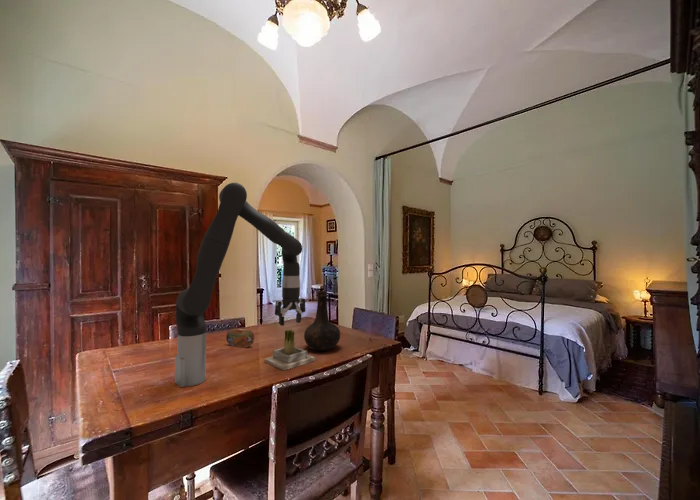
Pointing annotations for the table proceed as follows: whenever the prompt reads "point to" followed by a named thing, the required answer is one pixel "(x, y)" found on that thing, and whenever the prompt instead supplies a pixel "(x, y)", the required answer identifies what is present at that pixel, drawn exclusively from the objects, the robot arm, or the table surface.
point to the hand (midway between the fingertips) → (290, 323)
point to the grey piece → (289, 359)
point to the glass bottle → (322, 328)
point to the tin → (240, 338)
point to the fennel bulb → (289, 343)
